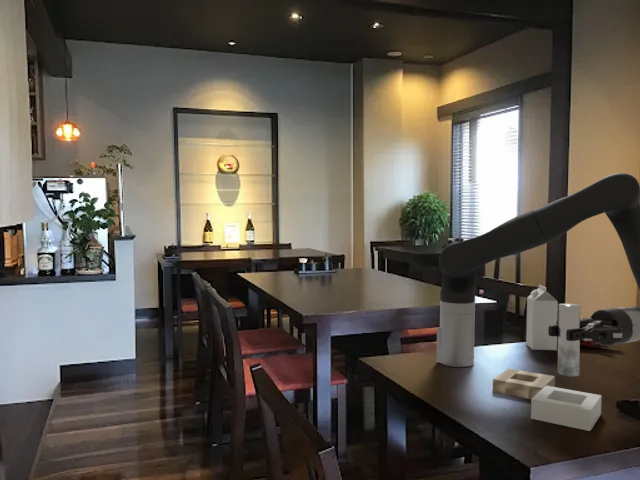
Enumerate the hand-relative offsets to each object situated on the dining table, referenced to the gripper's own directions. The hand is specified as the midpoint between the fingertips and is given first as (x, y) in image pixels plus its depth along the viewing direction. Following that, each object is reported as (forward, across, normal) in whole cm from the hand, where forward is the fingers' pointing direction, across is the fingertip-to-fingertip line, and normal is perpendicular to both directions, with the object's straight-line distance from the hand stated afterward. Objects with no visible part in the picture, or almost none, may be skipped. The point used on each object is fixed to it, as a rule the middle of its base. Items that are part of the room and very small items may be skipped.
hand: (558, 333), depth 114 cm
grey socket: (-3, 0, +17) cm, 18 cm away
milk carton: (-42, -46, +18) cm, 65 cm away
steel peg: (-3, 0, +8) cm, 9 cm away
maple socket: (-7, -16, +17) cm, 25 cm away
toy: (-57, -40, +18) cm, 72 cm away
